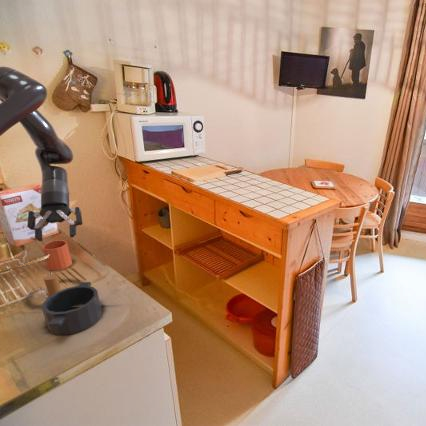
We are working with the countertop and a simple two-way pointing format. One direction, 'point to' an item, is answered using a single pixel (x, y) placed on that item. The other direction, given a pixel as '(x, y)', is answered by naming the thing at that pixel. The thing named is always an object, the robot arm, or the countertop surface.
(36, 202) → the cracker box
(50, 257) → the cup
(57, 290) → the lid
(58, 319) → the pot
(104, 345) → the countertop surface
